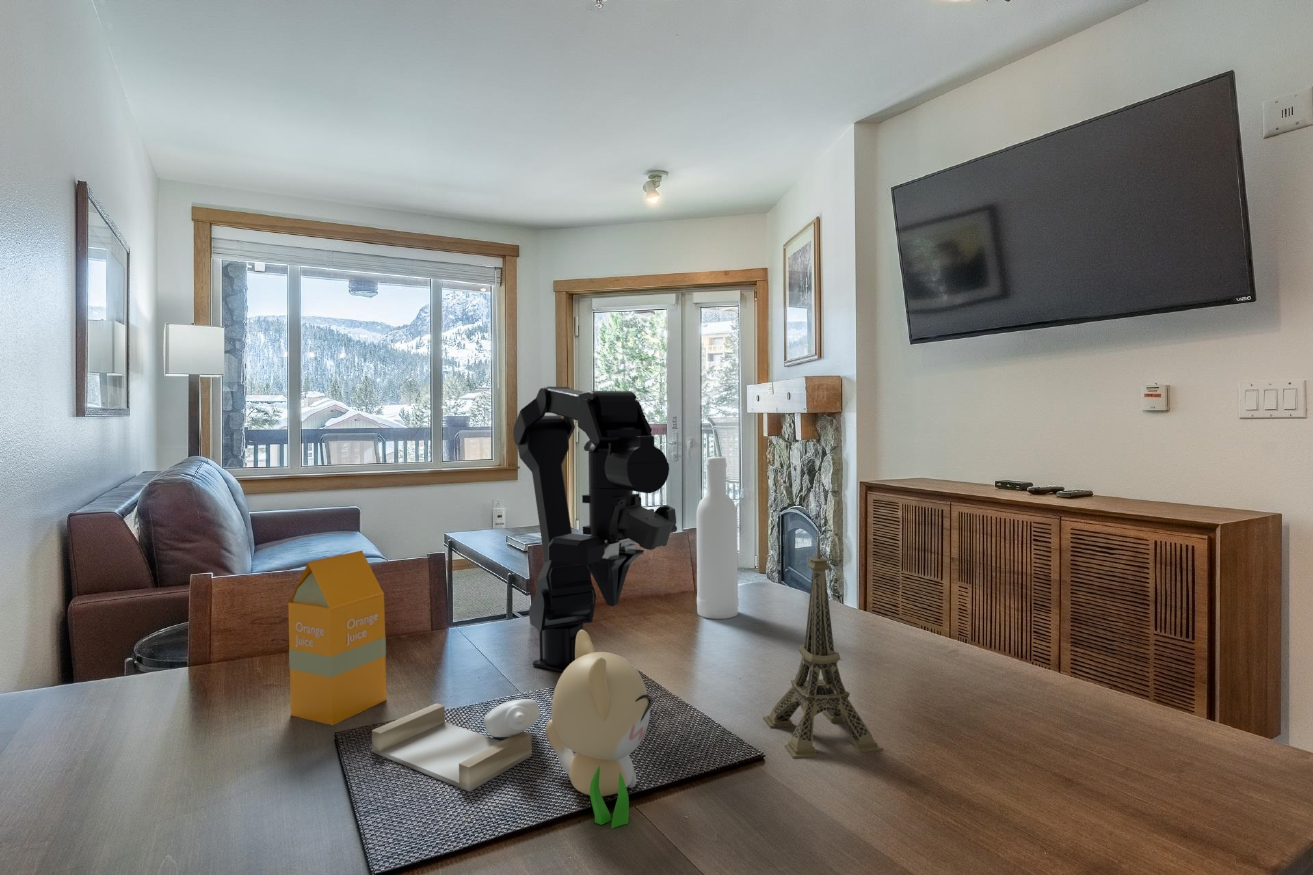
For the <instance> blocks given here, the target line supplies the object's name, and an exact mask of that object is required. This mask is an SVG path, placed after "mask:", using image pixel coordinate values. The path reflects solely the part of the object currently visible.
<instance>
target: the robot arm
mask: <svg viewBox="0 0 1313 875" xmlns="http://www.w3.org/2000/svg"><path fill="white" fill-rule="evenodd" d="M637 398H638V397H637V395H636V394H635V393H634V392H633V391H629V390H628V391H627V390H588V391H587V390H585V391H582V390H577V389H574V388H572V387H571V388H570V387H569V386H549V385H547V386H544V387H541V388H539V390H538V392H537V394H536V397H535V398H534V399H533V400H532V401H530V402H529V403H528V404H526V405H525V406H524V407H522V408H521V409H520V411H519V413H518V415H517V418H516V421H515V423H514V426H513V430H512V433H513V441H514V443H515V445H516V446H517V452H518V455H519V458H520V460H521V461H522V462H523V464H524V465H525V466H526V467H527V468H528V469H529V471H530V472H531V475H532V480H533V482H532V483H533V488H534V495H535V503H536V510H537V516H538V518H537V519H538V525H539V530H540V532H539V533H540V539H541V543H542V544H541V545H542V552H543V560H544V561H543V562H544V563H543V566H542V568H541V570H540V573H539V575H538V577H537V580H536V590H537V591H536V593H535V595H534V597H533V599H532V602H531V605H530V606H529V609H528V615H529V624H530V625H531V626H532V627H534V628H535V629H537V630H538V631H539V633H538V634H539V658H538V659H536V660H534V661H532V666H535V667H539V668H543V669H548V670H551V671H555V672H558V673H563V672H564V670H565V669H566V668H567V667H568V666H569V665H570V664H571V663H572V662H573V661H575V644H576V636H577V633H578V632H579V631H580V630H584V624H592V623H593V619H594V612H595V607H596V601H597V594H596V589H595V586H594V585H593V581H592V577H593V579H594V581H595V583H596V586H597V587H598V589H599V591H600V593H601V595H602V597H603V598H604V601H605V603H606V605H607V606H608V607H616V606H617V605H619V604H618V603H619V600H620V597H621V593H622V591H623V587H624V584H625V582H626V578H627V574H628V571H629V569H630V567H631V564H632V563H633V562H634V561H635V560H636V559H637V558H638V557H640V556H641V555H643V554H644V553H645V550H649V551H652V550H655V549H656V548H659V547H667V545H668V542H669V539H670V535H671V534H673V533H676V532H677V530H678V527H677V525H676V524H677V515H676V514H677V513H676V509H675V508H674V507H672V506H670V505H668V504H667V505H661V506H658V507H657V508H656V509H654V508H649V509H648V508H645V507H643V505H642V497H641V496H640V493H642V494H643V493H644V494H652V493H655V492H657V491H659V490H660V489H661V488H663V486H664V485H665V484H666V482H667V480H668V477H669V474H670V464H669V462H668V459H667V457H666V455H665V453H664V452H663V451H662V450H661V449H660V448H659V447H657V446H655V437H654V436H653V435H652V427H651V425H650V424H649V422H648V420H647V418H646V415H645V413H644V410H643V408H642V405H641V403H640V401H639V400H637ZM546 413H547V414H548V413H549V414H554V415H546ZM574 421H577V427H578V429H580V430H582V431H583V432H584V433H585V434H586V436H587V438H588V439H589V440H588V441H587V442H586V443H585V444H584V446H583V450H584V451H585V452H588V453H587V454H588V494H587V493H586V494H582V495H581V496H582V498H581V500H582V501H581V502H582V504H588V510H589V511H588V515H589V516H588V518H589V521H588V522H589V525H584V526H582V534H578V533H573V531H572V525H571V519H570V518H571V517H570V510H569V504H568V500H567V493H566V492H567V491H566V484H565V479H564V473H563V472H564V471H563V463H564V460H565V459H566V457H567V454H568V452H569V449H570V443H569V441H570V438H571V437H572V434H573V432H574V431H575V429H576V426H575V422H574ZM634 492H637V493H634ZM635 543H637V544H638V545H639V546H640V548H642V549H637V547H636V546H637V544H635ZM643 549H644V550H643Z"/></svg>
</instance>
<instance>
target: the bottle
mask: <svg viewBox="0 0 1313 875" xmlns="http://www.w3.org/2000/svg"><path fill="white" fill-rule="evenodd" d="M727 466H728V465H727V460H726V457H724V456H710V457H707V458H706V464H705V467H706V494H705V495H704V497H703V498H702V499H700V500H699V503H698V505H697V508H696V592H697V594H696V595H697V596H696V606H697V607H696V608H697V610H696V611H697V612H696V613H697V615H698V616H700V617H701V618H706V619H712V620H725V619H731V618H735V617H736V616H738V614H739V579H738V578H739V574H738V573H739V569H738V568H739V567H738V565H739V564H738V563H739V562H738V557H739V556H738V550H739V549H738V546H739V545H738V510H737V507H736V504H735V502H734V500H733V499H732V498H731V497H730V496H729V495H728V494H727Z"/></svg>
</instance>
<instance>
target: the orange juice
mask: <svg viewBox="0 0 1313 875" xmlns="http://www.w3.org/2000/svg"><path fill="white" fill-rule="evenodd" d="M287 605H288V607H287V608H288V637H289V638H288V640H289V643H288V645H289V646H288V647H289V649H288V655H289V656H288V657H289V658H288V659H289V660H288V661H289V662H288V665H289V680H290V681H289V682H290V684H289V685H290V686H289V687H290V688H289V690H290V716H293V717H297V718H301V719H306V720H309V721H313V722H318V723H321V724H327V725H331V726H334V725H336V724H339V723H341V722H342V721H344V720H347V719H349V718H351V717H353V716H355V715H357V714H359V713H362V712H364V711H365V710H368V709H370V708H372V707H374V706H376V705H379V704H380V703H383V702H385V701H387V668H386V667H387V666H386V665H387V664H386V663H387V661H386V658H387V657H386V656H387V646H386V645H387V644H386V643H387V642H386V640H387V639H386V619H385V618H386V617H385V615H386V614H385V612H386V611H385V592H384V591H383V589H382V587H381V585H380V583H379V581H378V579H377V578H376V575H375V574H374V571H373V570H372V567H371V565H370V564H369V562H368V560H367V558H366V556H365V554H364V552H363V550H359V551H355V552H348V553H345V554H340V555H335V556H331V557H330V556H329V557H325V558H322V559H317V560H313V561H308V562H307V564H306V567H305V568H304V569H303V572H302V574H301V577H300V579H299V580H298V583H297V585H296V586H295V588H294V591H293V593H292V595H291V596H290V599H289V601H288V604H287Z"/></svg>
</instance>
